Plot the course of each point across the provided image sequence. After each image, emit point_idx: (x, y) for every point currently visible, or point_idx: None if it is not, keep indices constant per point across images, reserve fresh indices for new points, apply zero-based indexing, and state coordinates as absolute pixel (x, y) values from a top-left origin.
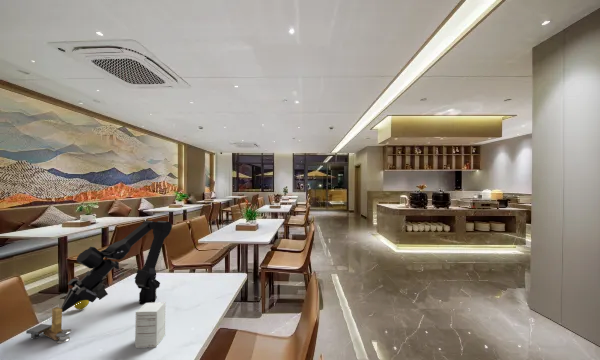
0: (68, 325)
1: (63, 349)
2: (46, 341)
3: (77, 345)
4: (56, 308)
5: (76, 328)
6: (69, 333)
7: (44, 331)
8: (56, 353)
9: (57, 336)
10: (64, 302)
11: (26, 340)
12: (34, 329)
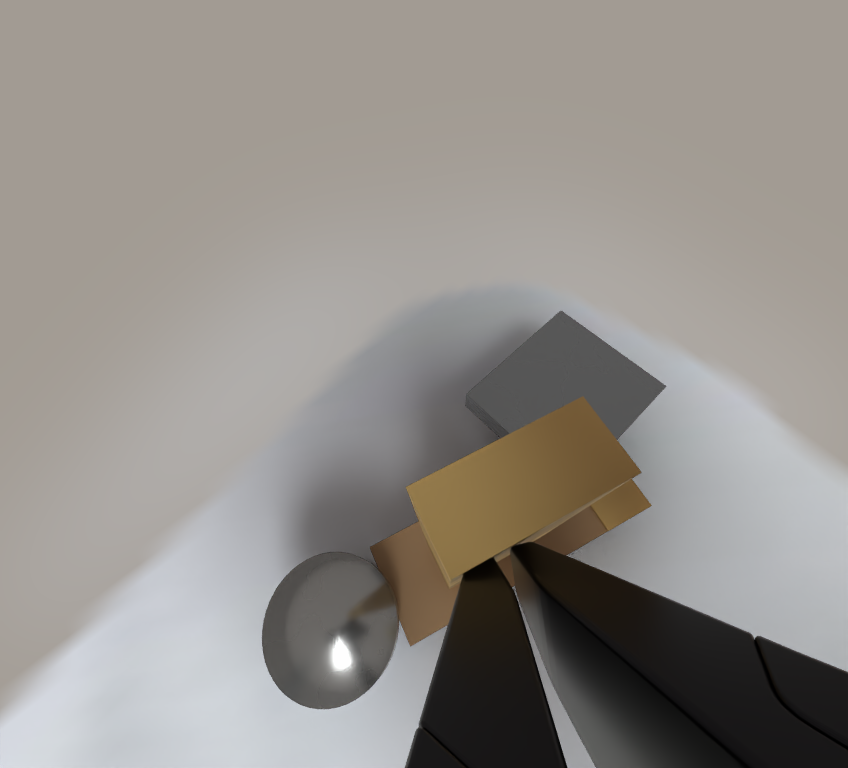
0: None
1: (170, 632)
2: None
3: (136, 762)
4: (551, 465)
5: None
6: (285, 686)
7: None
8: (147, 582)
9: (303, 566)
10: (591, 631)
11: None
12: (550, 359)
